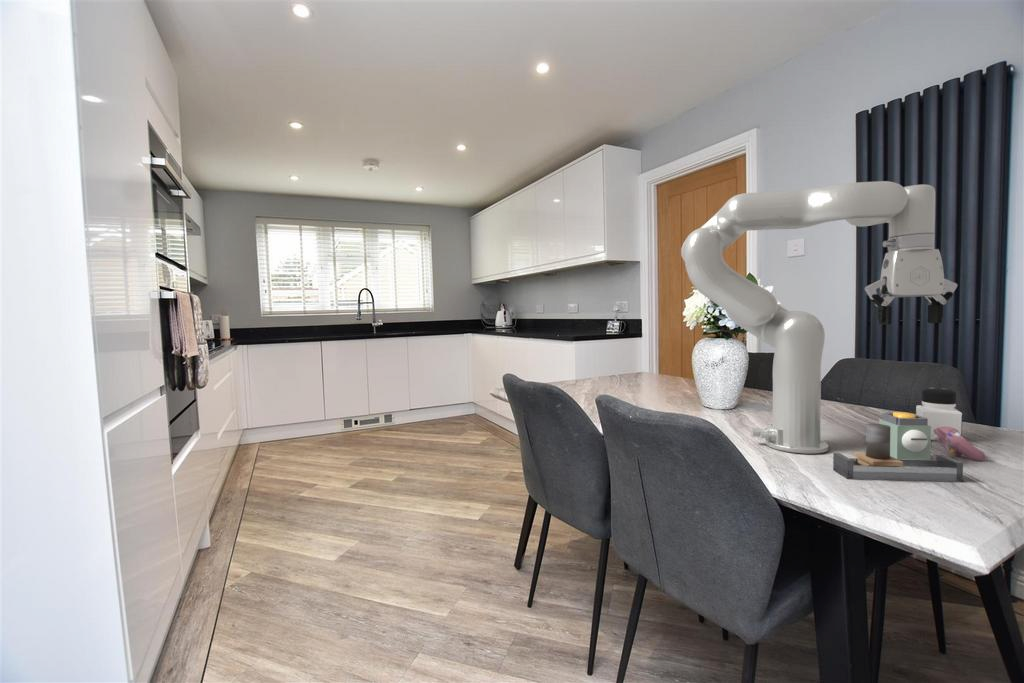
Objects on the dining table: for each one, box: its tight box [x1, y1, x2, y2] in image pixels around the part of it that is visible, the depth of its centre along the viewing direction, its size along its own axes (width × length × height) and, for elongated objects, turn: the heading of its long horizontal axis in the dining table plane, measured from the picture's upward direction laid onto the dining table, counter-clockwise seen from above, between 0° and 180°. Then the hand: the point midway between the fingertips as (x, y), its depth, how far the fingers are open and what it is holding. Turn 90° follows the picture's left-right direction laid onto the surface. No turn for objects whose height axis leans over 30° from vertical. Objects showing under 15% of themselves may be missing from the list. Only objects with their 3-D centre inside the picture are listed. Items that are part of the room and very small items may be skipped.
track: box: [832, 452, 964, 483], centre depth 87 cm, size 19×5×4 cm, turn 81°
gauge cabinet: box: [878, 412, 932, 460], centre depth 96 cm, size 6×7×9 cm
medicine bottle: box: [915, 387, 963, 442], centre depth 112 cm, size 7×7×12 cm
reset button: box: [892, 411, 916, 418], centre depth 96 cm, size 4×4×2 cm
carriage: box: [853, 423, 903, 466], centre depth 88 cm, size 5×6×8 cm
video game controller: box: [933, 426, 986, 462], centre depth 99 cm, size 10×5×7 cm, turn 155°
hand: (909, 323), depth 101 cm, fingers open, 9 cm apart
